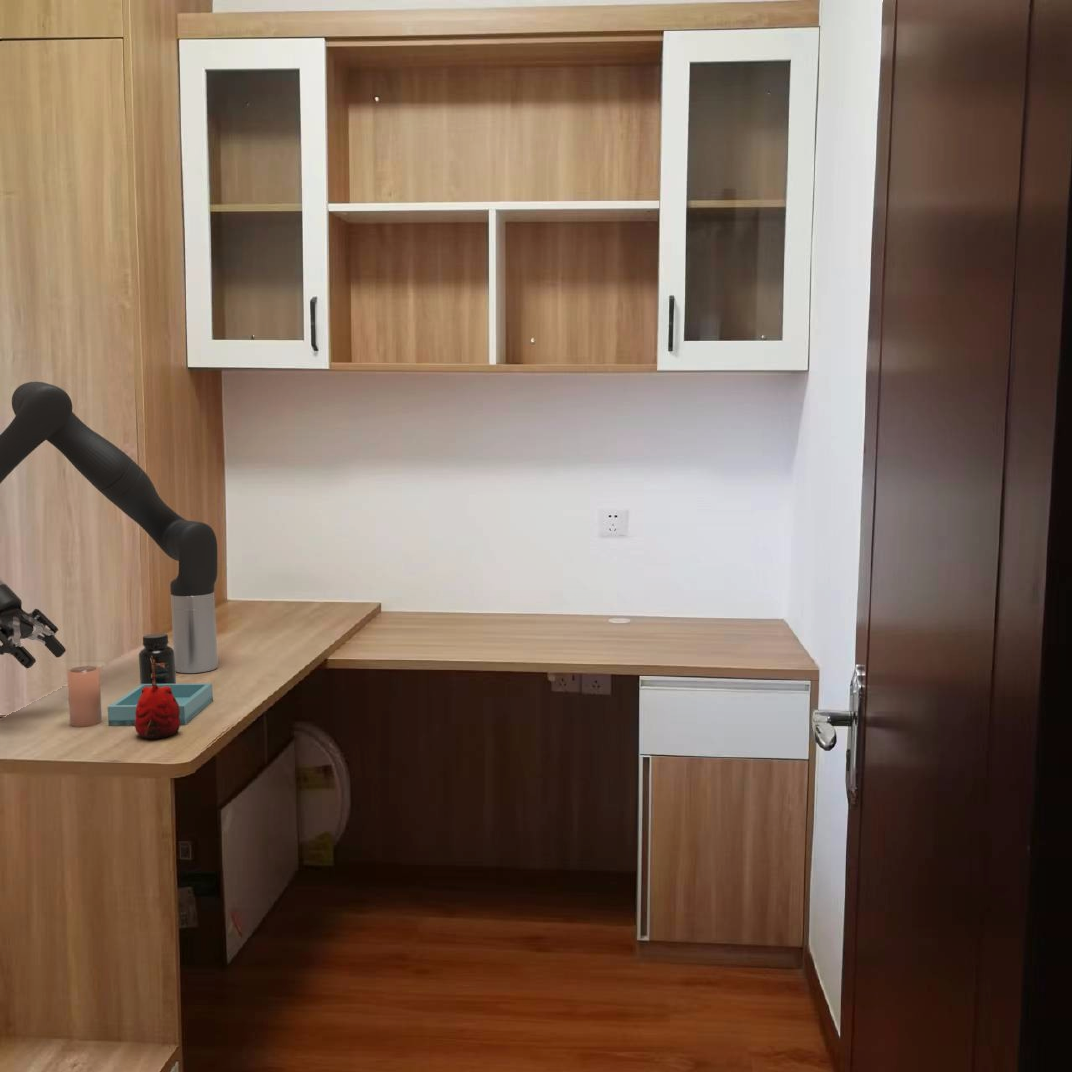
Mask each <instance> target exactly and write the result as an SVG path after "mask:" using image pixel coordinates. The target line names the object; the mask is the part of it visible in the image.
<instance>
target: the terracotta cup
mask: <svg viewBox="0 0 1072 1072" xmlns="http://www.w3.org/2000/svg"><path fill="white" fill-rule="evenodd" d="M100 673H101V671H100V667H99V666H96V665H84V666H76V667H71V668H69V669H67V671H66V674H67V689H68V690H67V693H68V710H69V724H70V726H71V727H76V728H84V727H92V726H96V725H98V724H101V723H102V722H103V715H102V713H103V712H102V711H103V710H102V696H101V695H102V694H101V674H100Z"/></svg>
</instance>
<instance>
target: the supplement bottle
mask: <svg viewBox="0 0 1072 1072" xmlns="http://www.w3.org/2000/svg"><path fill="white" fill-rule="evenodd" d="M142 646H143V648H142V649H141V650H140V651H139V652H138V666H139V681H140V685H141V684H152V681H153V679H152V678H151V674H152V667H151V660H150V658H151V656H153V660H155V663H157V664H161V663H165V668H163V667H160V666H155V673H154V674H155V682H156V684H177V675H176V671H175V658H174V648H172V647H170V646H169V635H168V634H167V633H151V634H146V635H143V636H142Z"/></svg>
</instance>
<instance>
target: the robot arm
mask: <svg viewBox="0 0 1072 1072" xmlns="http://www.w3.org/2000/svg"><path fill="white" fill-rule="evenodd" d="M11 408H12V411H13V413H14V418H13V419H12V421H11V422H10V423H9V424H8V426H7V427H6V428H5V429H4V430H3V431H2V433H1V434H0V484H1V483H2V482H3V481H4V480H5V479H6V478H7V477H8V476H9V475H10V474H11V473H12V472H13V470H15V469H16V468H17V466H19V465H20V463H22V462H23V461H24V460H25V459H26V458H27V457H28V456H29V455H30V454H32V453H33V451H35V450H36V449H37V448H38V447H40V445H41V444H43V443H44V442H45V441H47V442H48V443H49V444H51V445H52V446H53V447H54V448H56V449H57V450H58V451H59V452H60V453H61V454H62V455H63V456H64V457H65V458H66V459H67V460H68V461H69V462H70V463H71V464H72V465H73V467H74V468H75V469H76V470H77V471H78V472H79V473H80V474H81V475H82V476H83V478H85V479H86V480H87V481H88V482H89V483H90V484H91V485H92V486H93V487H94V488H95V489H97V490H98V492H99V493H101V494H102V496H104V497H105V498H106V499H107V500H109V501H110V502H111V503H112V504H114V505H115V506H116V507H117V508H118V509H119V510H121V512H123V513H124V514H125V515H126V516H128V517H129V518H130V519H132V520H133V521H134V522H135V523H136V524H137V525H138V526H140V527H141V528H142V529H143V530H144V531H145V532H146V533H147V534H148V535H149V536H150V538H151V539H152V540H153V541H154V542H155V544H156V545H157V546H158V547H159V548H160V549H161V551H162V552H164V553H165V555H167V556H168V557H169V558H171V559H172V560H174V561H177V562H178V572H177V573H178V574H177V576H176V577H175V578H174V579H172V581H171V582H170V585H169V587H170V589H169V590H170V606H171V607H170V608H171V626H172V628H171V629H172V642H173V643H172V644H173V645H172V646H173V648H172V649H173V651H174V658H175V673H176V672H177V673H182V674H198V673H205V672H206V673H207V672H210V671H213V670H216V669H217V668H218V665H219V664H218V662H219V661H218V642H217V641H218V640H217V620H216V619H217V618H216V601H215V600H216V599H215V598H216V597H215V585H216V584H215V583H216V581H217V578H218V541H217V536H216V533H215V531H214V530H213V528H212V527H211V526H210V525H209V524H207V523H205V522H201V521H196V520H195V521H194V520H187V519H185V518H184V517H182V516H181V515H179V514H178V513H177V512H175V511H174V510H173V509H172V508H170V506H168V505H167V504H166V503H165V502H164V501H163V500H162V499H161V497H160V496H159V493H158V492H157V490H156V488H155V486H154V484H153V482H152V480H151V479H150V477H149V475H148V474H147V472H145V470H143V468H142V467H141V466H139V465H138V464H137V462H136V461H134V460H133V459H132V458H131V457H130V456H129V455H128V454H126V453H125V452H124V451H123V450H121V449H120V448H119V447H117V446H116V445H115V444H114V443H112V442H111V441H110V440H108V439H106V438H105V437H103V436H102V435H101V434H99V433H97V432H96V431H94V430H93V429H91V428H90V427H89V426H87V424H85V423H84V422H83V421H82V420H81V419H80V418H79V417H78V416H77V415H76V414H75V413H74V412H73V402H72V399H71V397H70V396H69V394H68V393H67V392H66V391H65V390H64V389H62V388H61V387H59V386H57V385H54V384H51V383H46V382H43V381H42V382H41V381H29V382H25V383H22V384H21V385H19V386H18V387H16V388H15V390H14V391H13V393H12V396H11ZM22 604H23V601H22V600H21V598H20V597H19V596H18V595H17V593H15V592H14V591H13V590H12V589H11V588H10V587H9V586H8V584H7V583H5V582H4V581H3V579H1V577H0V643H2V645H1V644H0V655H1V656H3V655H5V654H8V655H9V656H13V657H14V658H15V659H16V660H17V661H18V662H19V664H21V666H23V667H24V668H25V669H30V668H32V667H33V666H34V665H35V663H36V662H37V661H36V658H35V657H34V655H32V654H31V653H30V652H29V650H27V649H26V648H25V646H24V645H22V644H21V640H23V639H24V640H25V639H29V640H31V641H38V642H40V643H42V644H44V646H45V647H46V648H47V649H48V651H50V652H51V653H52V654H53V656H55V658H56V659H57V658H60V657H62V656H63V655H64V653H65V652H67V649H66V648H65V645H63V644H62V642H60V640H58V639H57V638H56V637H55V635H56V634H57V632H59V628H58V627H57V626H56V625H55V624H54V623H53V622H52V621H51V620H50V619H49V618H48V617H47V616H46V615H45V614H44V613H43V612H42V611H41V610H39V609H38V608H34V610H33V611H32V612H30V613H28V612H26V611H25V610H23V608H22ZM48 628H49V629H48ZM41 634H42V635H41Z"/></svg>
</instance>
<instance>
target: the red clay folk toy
mask: <svg viewBox="0 0 1072 1072" xmlns="http://www.w3.org/2000/svg"><path fill="white" fill-rule="evenodd" d="M150 660H151V667H152V674H151V678H152V679H153V681H152V687H144V688H143V689H142V695H141V696H140V698H139V701H138V703H137V707H136V712H135V716H136V719H135V725H134V728H135V731H136V734H138V735H139V736H140V737H141V738H143V739H148V740H158V739H159V740H160V739H163V738H166V737H171V736H174V735H175V734H176V733H178V731H179V729H180V726H181V725H180V718H179V715H180V709H179V705H178V703H177V701H176V699H175V697H174V696H173V694H172V691H171V688H170V687H168V686H165V687H158V686H157V684H156V682H155V674H154V673H155V666H160V667H163V668H165V663H161V664H157V663H155V660H153V656H151V658H150Z"/></svg>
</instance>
